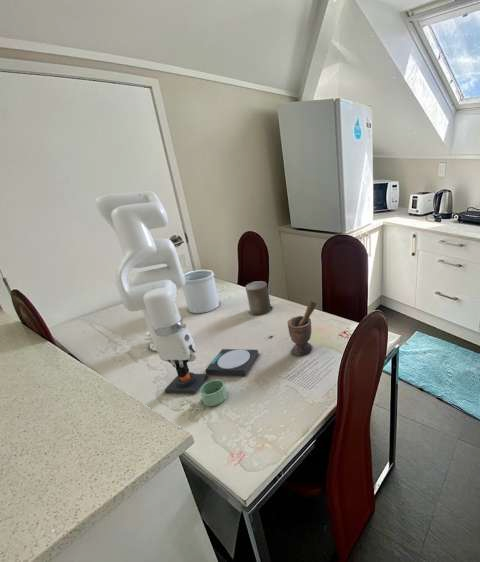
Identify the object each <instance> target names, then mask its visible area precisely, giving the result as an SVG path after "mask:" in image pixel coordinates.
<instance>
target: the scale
mask: <svg viewBox="0 0 480 562" xmlns="http://www.w3.org/2000/svg"><path fill="white" fill-rule="evenodd" d="M259 354H260V353H259V349H243V348H242V349H239V348H237V349H236V348H235V349H234V348H222V349H221V350H220V351H219V353H217V355H216V356H215V357H214V359H213V360H212V361H211V362H210V363H209V365H208V366H207V367H206V368H205V374H207V375H208V376H228V377H230V376H231V377H232V376H233V377H234V376H235V377H246V376H247V375H248V373H249V372H250V370H251V368H252V367H253V365H254V364H255V362H256V361H257V360H258V357H259V356H260V355H259Z"/></svg>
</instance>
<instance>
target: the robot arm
mask: <svg viewBox="0 0 480 562" xmlns="http://www.w3.org/2000/svg"><path fill="white" fill-rule="evenodd" d="M94 205H95V207H96V209H97V211H98V213H99V214H100V216H101V217H102V218H103V220H104V221H105V222H106V223H107V224H108V225H109V226H110V228H112V229H113V231H114V233H115V234H116V237H117V239H118V242H119V245H120V248H121V251H122V253H123V256H122V259H121V260H120V262H119V264H118V266H117V267H116V272H115V274H114V275H115V279H114V281H115V286H116V288H117V290H118V294H119V297H120V299H121V302H122V304H123V306H124V308H125V309H126V310H127V311H130V312H139V311H141V312H142V315H143V318H144V320H145V324H146V325H147V328H148V331H147V332H145V335H144V340H145V341H148V340H149V341H150V343H149V347H150V348H149V349H150V350H152V351H153V352H157V355H158V357H159V358H160V359H161V360H162V361H163V362H168V363H169V364H171V366H172V368H175V370H176V374H177V376H178V377H185V376H186V375H187V373H188V372H190V369H189V366H188V363H189V362H194V361H195V360H196V359H197V357H196V355H195V353H196V352H197V347H196V344H195V341H194V338H193V337H192V334H191V332H190V331H189V329H188V328H187V324H186V323H183V320H182V317H181V315H180V314H181V313H180V311H179V310H180V309H179V308H178V307H179V306H178V303H177V297H178V290H179V289H181V288H182V287H183V286H184V285H185V277H184V269H183V267H182V264H181V261H180V257H179V255H178V252H177V249H176V246H175V244H174V243H173V241H172V240H171V239H169V238H166V237H161V238H153V235H152V231H151V230H155V229H160V228H165V227H166V226H168V224H169V219H168V214H167V211H166V209H165V206H164V205H163V203H162V202H161V199H160V198H159V197H158V196H157V194H156V193H155V192H154V191H151V190H141V191H140V190H139V191H128V192H113V193H107V194H102V195H100V196H97V197H96V198H95V200H94ZM162 264H163V265H166V266H161V267H157V268H152V269H147V270H142V271H139V272H136V273H133V274H132V275H131V276H130V277H129V279H128V275H129V273H130V272H131V271H132V270H133V269H143V268H147V267H153V266H158V265H162ZM182 289H183V288H182Z"/></svg>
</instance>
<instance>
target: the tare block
mask: <svg viewBox="0 0 480 562" xmlns="http://www.w3.org/2000/svg"><path fill="white" fill-rule="evenodd" d="M188 373H189V375H190V379H189V380H187V381H184V382H183V381H181V380H180V377H178V375H176V377H175V378H174V379H173V380H172V381H171V382H170V383H169V384H168V385H167V387H165V389H164V393H165V394H185V395H187V394H188V395H189V394H191V395H195V394H196V393H197V392H198V391H199V390H200V388H201V387H202V386H203V385H204V384H205V383H206V380H207V379H208V378H209V375H207V373H194V372H191V371H189V372H188Z"/></svg>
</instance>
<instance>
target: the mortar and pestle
mask: <svg viewBox="0 0 480 562" xmlns="http://www.w3.org/2000/svg"><path fill="white" fill-rule="evenodd" d="M316 307H317V301H315V300H312V299H311V300H310V301H309V302H308V304H307V307H306V309H305V313H304V314H303V315H298V316H297V315H296V316H294V317H291V318H290V319H288V320H287V329H288V335H289V337H290V340H291V341H292V342H293V343H294V345H293V346H292V354H294V355H295V356H305V355H307V354H309V353H310V352H311V351H312V350H313V347H312V345H311V343H310V342H309V341H310V340H311V336H312V320H311V318H310V317H311V315H312V314H313V312H314V311H315V310H316Z"/></svg>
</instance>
